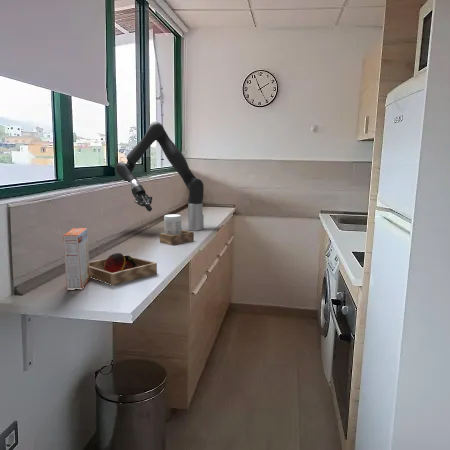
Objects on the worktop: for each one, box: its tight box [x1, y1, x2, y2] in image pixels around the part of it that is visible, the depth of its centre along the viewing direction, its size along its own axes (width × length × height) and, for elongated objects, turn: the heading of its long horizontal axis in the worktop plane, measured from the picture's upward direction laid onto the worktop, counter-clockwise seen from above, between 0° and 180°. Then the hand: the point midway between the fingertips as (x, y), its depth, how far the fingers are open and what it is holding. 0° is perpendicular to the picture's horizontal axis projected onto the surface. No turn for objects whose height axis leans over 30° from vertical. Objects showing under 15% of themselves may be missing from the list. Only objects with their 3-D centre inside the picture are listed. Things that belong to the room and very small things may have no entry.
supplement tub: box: [163, 213, 182, 235], centre depth 246 cm, size 10×10×15 cm
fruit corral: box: [89, 254, 158, 286], centre depth 180 cm, size 22×22×4 cm
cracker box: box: [62, 227, 91, 289], centre depth 164 cm, size 14×6×21 cm, turn 5°
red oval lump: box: [104, 252, 136, 273], centre depth 182 cm, size 12×12×15 cm
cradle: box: [159, 229, 195, 246], centre depth 245 cm, size 16×10×5 cm, turn 139°
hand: (150, 210), depth 257 cm, fingers closed
